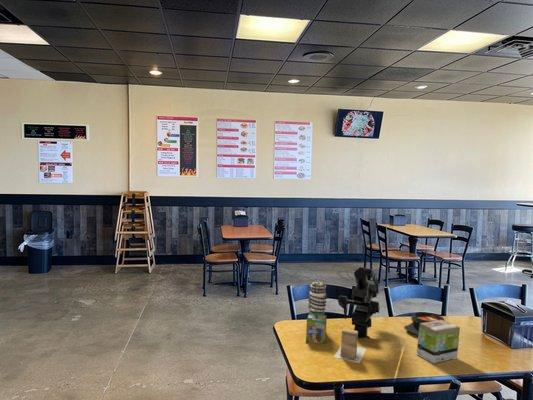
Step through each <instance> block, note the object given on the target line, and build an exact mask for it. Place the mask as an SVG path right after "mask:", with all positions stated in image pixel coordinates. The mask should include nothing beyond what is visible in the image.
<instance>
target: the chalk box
mask: <svg viewBox="0 0 533 400" xmlns="http://www.w3.org/2000/svg"><path fill="white" fill-rule="evenodd" d="M327 318H328V316H327V315H325V314H324V315H319V314H317V311H316V309H315V314H309V313H308V315H307V318H306V330H305V331H306V332H305V333H306V334H305V335H306V337H305V344H308V343H318V344H324V345H326V339H327V321H328V319H327Z"/></svg>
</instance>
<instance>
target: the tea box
mask: <svg viewBox="0 0 533 400" xmlns="http://www.w3.org/2000/svg"><path fill="white" fill-rule="evenodd" d="M444 320H445V319H444ZM444 320H438V321H432V322H425V323H420V325H419V335H417V336H418V337H417V346H416V347H417V348H416V355H417V356H419V357H421V358H422V359H424V360H426V361H428V362H430V363H432V364H436V363H440V362H444V361H451V360H455V359H454V358H456V359H457V358H458V350H459V341H460V331H461V327H460V326H458V325H455V324H453V323H451V322H449V321H446V320H445V321H444ZM450 359H451V360H450Z"/></svg>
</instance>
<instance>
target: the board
mask: <svg viewBox="0 0 533 400" xmlns="http://www.w3.org/2000/svg"><path fill="white" fill-rule="evenodd" d="M366 351H367V348H364V347H360V346H359V347H358V346H357V355H356V358H355V360H354V359H349V358H345V357H341V346H340V347H339V348H338V349H337V351H336V352H335V354H334V356H333V358H336V359H339V360H343V361H349V362H353V363H358V364H360V363H361V361H362V359H363V357H364V355H365V353H366Z"/></svg>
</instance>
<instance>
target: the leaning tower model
mask: <svg viewBox="0 0 533 400" xmlns="http://www.w3.org/2000/svg"><path fill="white" fill-rule="evenodd" d="M309 286H310V289H309V295H308V297H307V298H308V300H307V301H308V303H307V304H308V306H307V307H308V310H309V312H308V314H315V309H316V311H317V314H319V315H325V311H326V308H325V307H326V306H327V304H326V303H327V301H326V300H327V299H328V298H327V297H328V294H327V293H326V291H327V289H326V288H327V286H326V284H325V283H324V282H323V281H313V282H312V283H311V284H310V285H309Z"/></svg>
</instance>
